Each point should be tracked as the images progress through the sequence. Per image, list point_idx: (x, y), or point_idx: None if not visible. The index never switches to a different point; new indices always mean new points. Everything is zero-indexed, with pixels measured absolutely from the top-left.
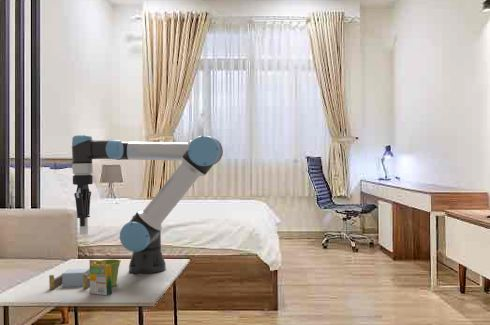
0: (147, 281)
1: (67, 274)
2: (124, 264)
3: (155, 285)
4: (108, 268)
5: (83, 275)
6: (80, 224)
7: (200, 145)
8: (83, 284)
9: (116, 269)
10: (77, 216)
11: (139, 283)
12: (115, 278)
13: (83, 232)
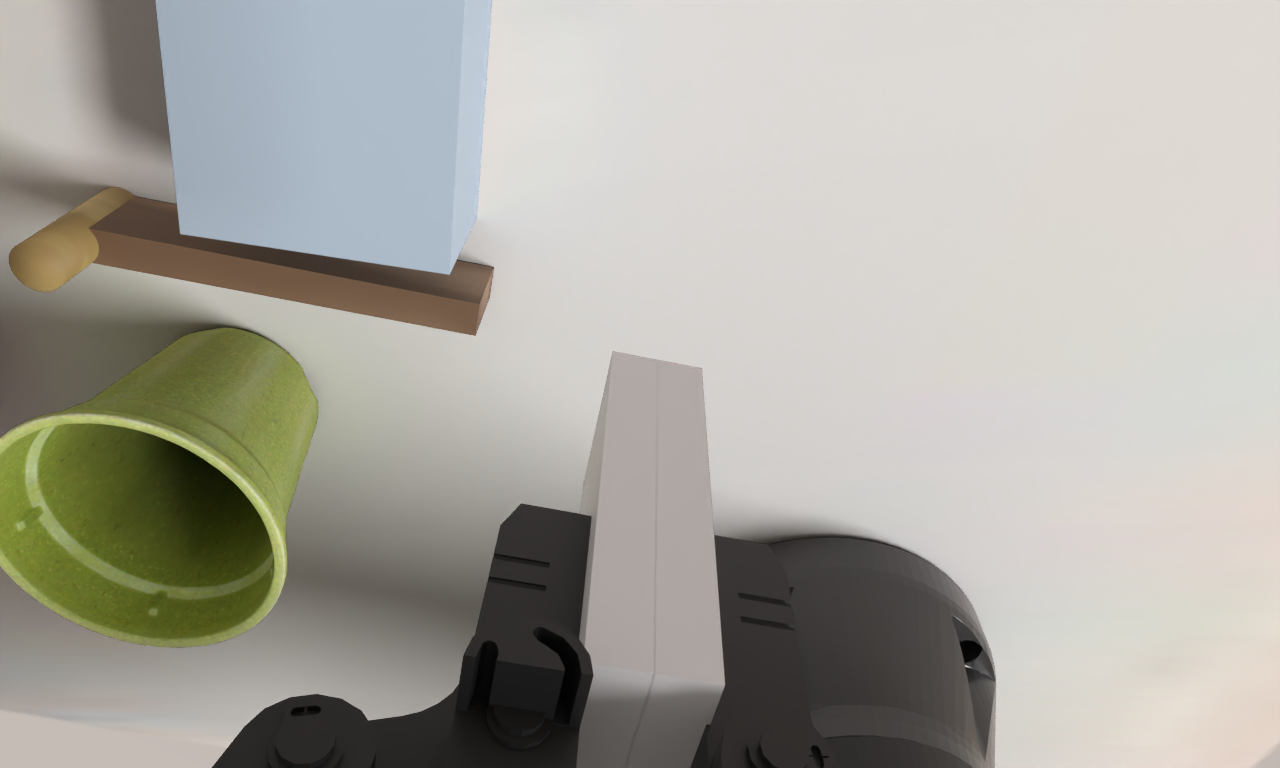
0: (348, 653)
1: (166, 17)
2: (1245, 489)
3: (203, 692)
4: None
5: (18, 244)
6: (498, 543)
7: None
8: (81, 204)
9: (138, 561)
10: (273, 707)
11: (284, 606)
12: (183, 493)
13: (594, 454)
